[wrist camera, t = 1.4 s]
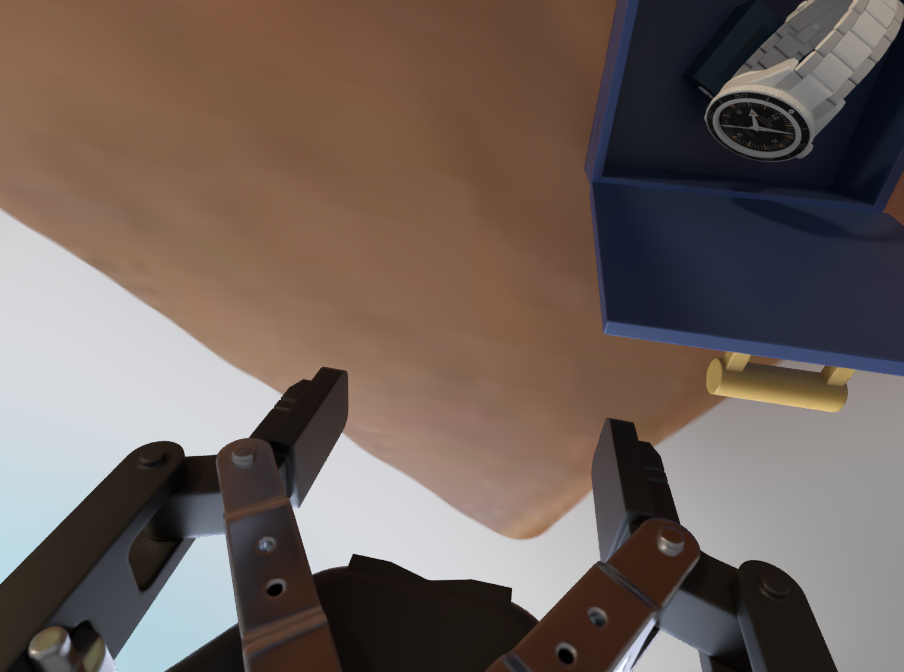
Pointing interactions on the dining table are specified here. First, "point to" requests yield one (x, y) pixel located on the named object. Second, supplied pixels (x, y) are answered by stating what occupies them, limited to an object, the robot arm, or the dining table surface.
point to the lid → (754, 287)
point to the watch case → (695, 149)
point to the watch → (788, 71)
